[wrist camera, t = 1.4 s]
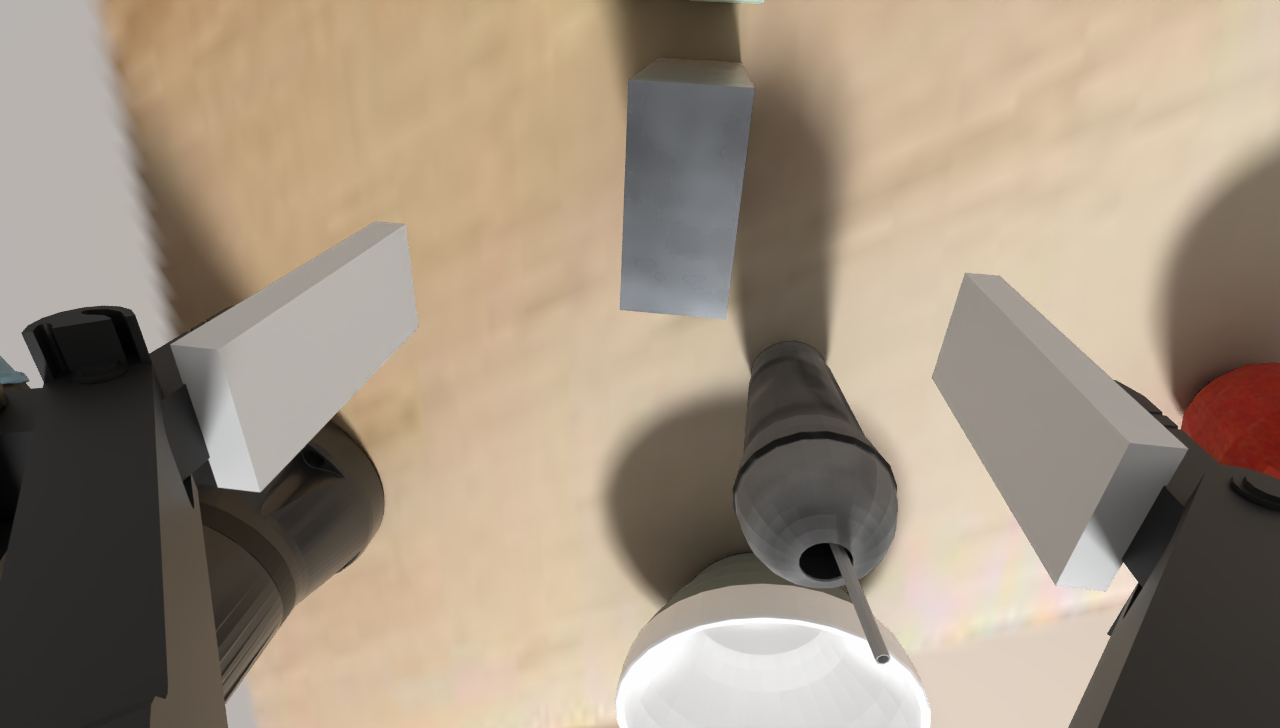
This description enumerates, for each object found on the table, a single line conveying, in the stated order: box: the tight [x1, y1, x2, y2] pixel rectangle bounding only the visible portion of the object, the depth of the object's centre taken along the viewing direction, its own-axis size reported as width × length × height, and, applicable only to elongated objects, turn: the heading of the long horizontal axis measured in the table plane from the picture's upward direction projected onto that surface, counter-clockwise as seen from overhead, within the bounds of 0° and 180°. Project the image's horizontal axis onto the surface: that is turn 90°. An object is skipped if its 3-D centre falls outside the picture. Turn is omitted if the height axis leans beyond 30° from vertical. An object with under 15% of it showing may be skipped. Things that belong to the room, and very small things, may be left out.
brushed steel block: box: [620, 57, 755, 319], centre depth 28 cm, size 4×8×13 cm, turn 177°
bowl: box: [615, 553, 931, 728], centre depth 45 cm, size 20×20×10 cm
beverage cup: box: [733, 341, 898, 664], centre depth 30 cm, size 7×7×20 cm
